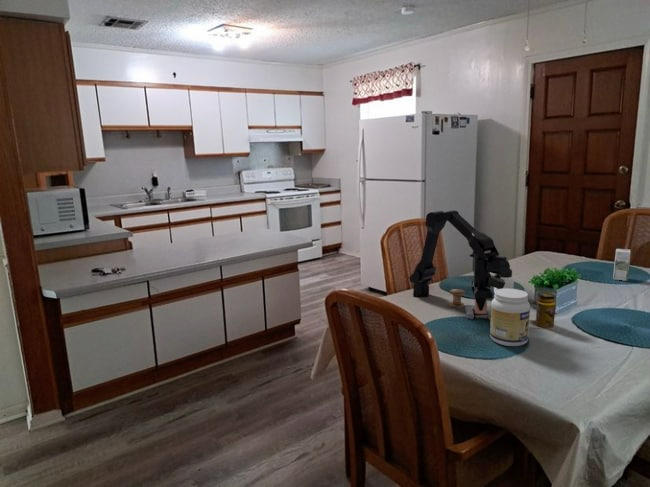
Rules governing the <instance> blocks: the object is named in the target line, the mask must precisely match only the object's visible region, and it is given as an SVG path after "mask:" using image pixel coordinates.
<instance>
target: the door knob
mask: <svg viewBox="0 0 650 487" xmlns="http://www.w3.org/2000/svg"><path fill="white" fill-rule="evenodd" d="M465 293H466V291H465V290H463V289H460V288H452V289H449V294H450V295H452V301H451V302H449V303H448V304H449V307H450V308H452V309H463V308H464V309H465V303H464V302H462V296H464V295H465Z"/></svg>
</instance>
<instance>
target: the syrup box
mask: <svg viewBox="0 0 650 487" xmlns="http://www.w3.org/2000/svg"><path fill="white" fill-rule="evenodd" d="M614 256H615V257H614V265H613V266H614V268H613V275H612V276H613V279H612V280H613V281H619V280H622V281H621V282H628V278H629V268H630V262H631V260H630V259H631V249H628V248H625V249H624V248H616V249H615V255H614Z"/></svg>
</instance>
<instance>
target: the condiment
mask: <svg viewBox="0 0 650 487" xmlns="http://www.w3.org/2000/svg"><path fill="white" fill-rule="evenodd" d="M555 298H556V296H555V294H553V293H552V292H540V293H539V294H538V299H537V301H536V311H535V312H536V313H535V320H533V319H529V327H530V329H531V328H532V329H542V330H554V331H556V330H557V327H556V325H555V315H556V301H555Z"/></svg>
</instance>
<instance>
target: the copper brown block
mask: <svg viewBox="0 0 650 487" xmlns="http://www.w3.org/2000/svg"><path fill="white" fill-rule="evenodd" d="M474 305H475V308H474V310H475V313H481V314H482V315H487V314H486V312H487V306H488V299H486V301H485V304H484V307H483V310H482V311H480V310H479V308H478V305H477V302H476V300H475V299H474ZM475 313H474V314H475Z"/></svg>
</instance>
